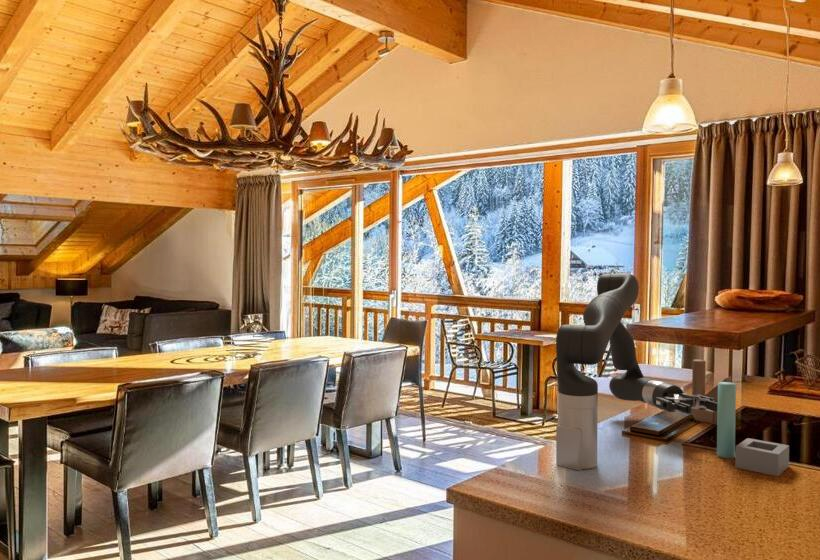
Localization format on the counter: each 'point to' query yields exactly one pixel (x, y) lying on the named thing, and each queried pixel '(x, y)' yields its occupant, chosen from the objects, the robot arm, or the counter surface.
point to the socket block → (762, 456)
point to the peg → (726, 419)
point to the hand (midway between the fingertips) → (704, 408)
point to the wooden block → (703, 392)
